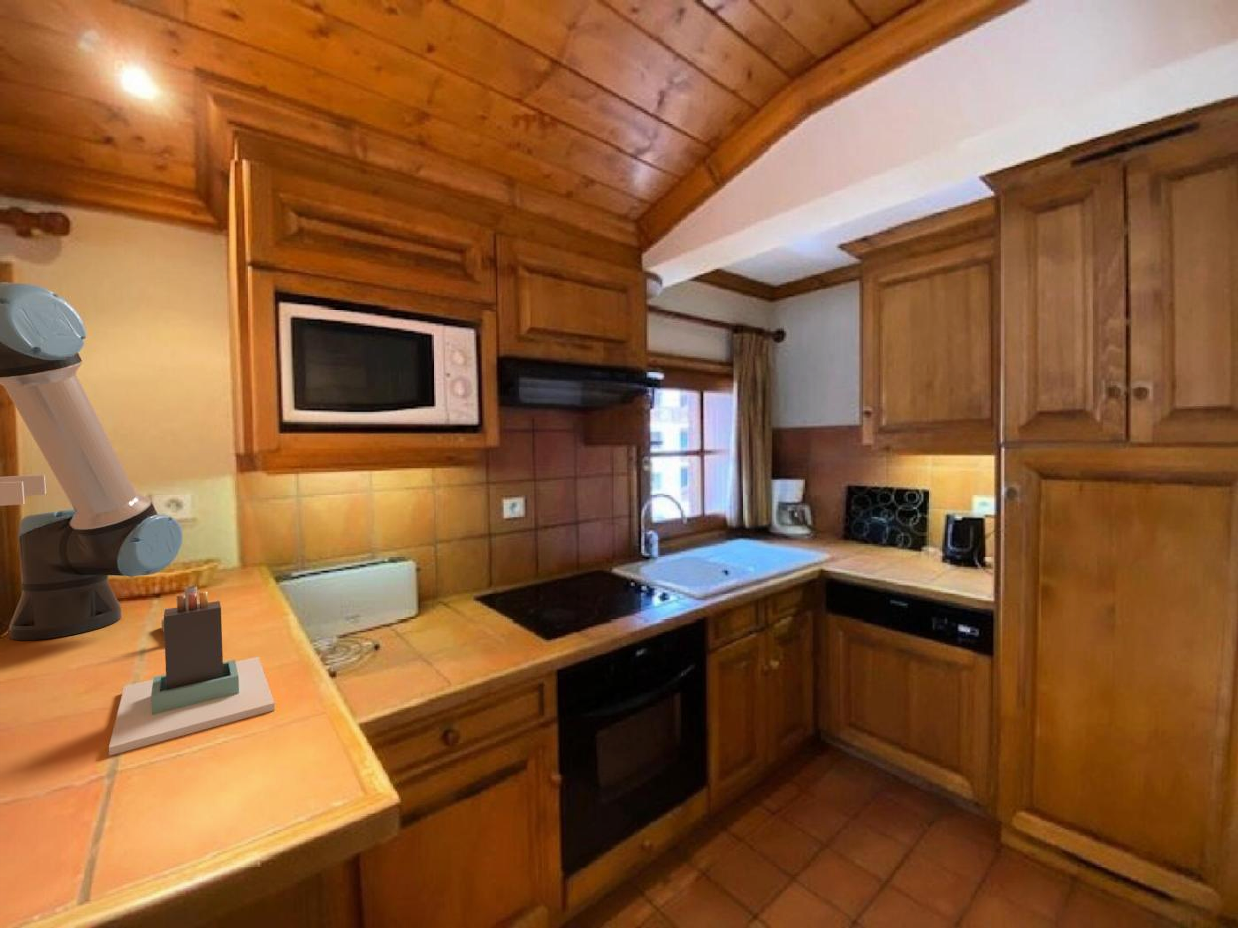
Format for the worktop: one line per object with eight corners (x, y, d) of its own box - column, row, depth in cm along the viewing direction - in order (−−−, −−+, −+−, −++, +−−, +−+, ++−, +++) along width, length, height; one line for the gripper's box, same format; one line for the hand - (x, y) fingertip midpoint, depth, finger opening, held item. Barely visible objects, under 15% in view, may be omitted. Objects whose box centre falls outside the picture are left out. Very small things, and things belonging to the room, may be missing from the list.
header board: (124, 692, 75) (123, 668, 75) (258, 662, 86) (258, 641, 85) (109, 755, 60) (107, 725, 60) (274, 710, 70) (273, 684, 70)
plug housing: (168, 694, 72) (164, 594, 72) (222, 682, 76) (219, 587, 76) (167, 705, 69) (163, 601, 69) (223, 692, 73) (220, 593, 73)
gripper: (-199, 523, 64) (54, 507, 78) (-357, 560, 45) (14, 530, 59) (-205, 462, 64) (50, 456, 77) (-368, 474, 45) (9, 463, 58)
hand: (35, 488), depth 68 cm, fingers open, 13 cm apart
